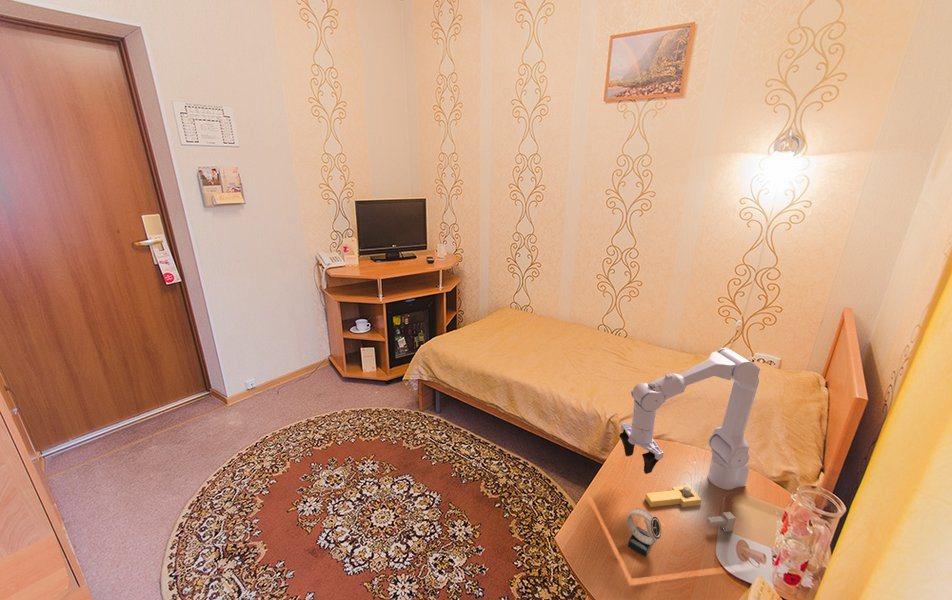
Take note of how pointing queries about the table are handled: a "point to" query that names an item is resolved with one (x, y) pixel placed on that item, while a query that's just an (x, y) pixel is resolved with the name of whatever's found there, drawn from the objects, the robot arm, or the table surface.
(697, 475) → the table surface
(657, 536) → the watch
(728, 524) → the pintle board
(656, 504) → the link
